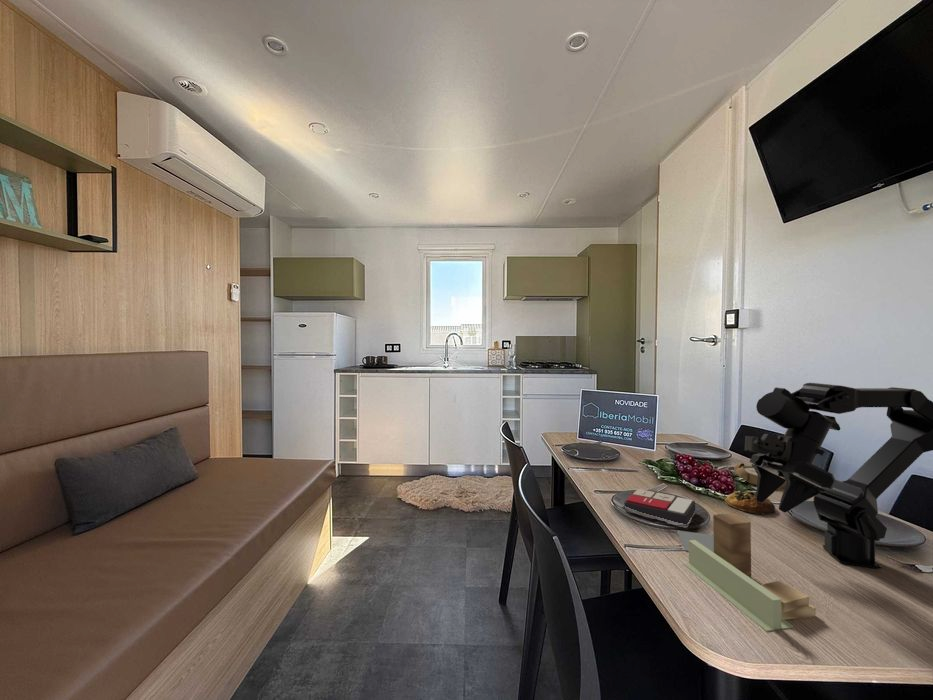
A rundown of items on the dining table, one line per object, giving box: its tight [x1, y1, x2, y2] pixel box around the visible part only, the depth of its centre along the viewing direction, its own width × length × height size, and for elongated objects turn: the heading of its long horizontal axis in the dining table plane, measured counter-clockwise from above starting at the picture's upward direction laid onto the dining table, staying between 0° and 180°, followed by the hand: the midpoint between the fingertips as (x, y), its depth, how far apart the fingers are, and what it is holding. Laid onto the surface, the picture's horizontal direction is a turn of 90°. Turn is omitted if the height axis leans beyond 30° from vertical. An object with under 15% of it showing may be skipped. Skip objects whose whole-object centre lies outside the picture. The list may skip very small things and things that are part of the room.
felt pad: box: [676, 529, 714, 553], centre depth 83 cm, size 10×9×1 cm
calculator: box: [623, 488, 696, 524], centre depth 99 cm, size 11×4×15 cm
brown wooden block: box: [712, 512, 752, 578], centre depth 72 cm, size 4×4×11 cm
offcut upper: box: [760, 580, 810, 612], centre depth 62 cm, size 6×4×2 cm
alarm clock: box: [726, 462, 786, 489], centre depth 119 cm, size 11×5×15 cm
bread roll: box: [724, 489, 776, 515], centre depth 102 cm, size 11×11×5 cm
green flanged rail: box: [683, 540, 794, 632], centre depth 67 cm, size 5×18×5 cm, turn 8°
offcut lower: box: [781, 603, 817, 621], centre depth 63 cm, size 7×5×2 cm
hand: (769, 505), depth 75 cm, fingers open, 9 cm apart
